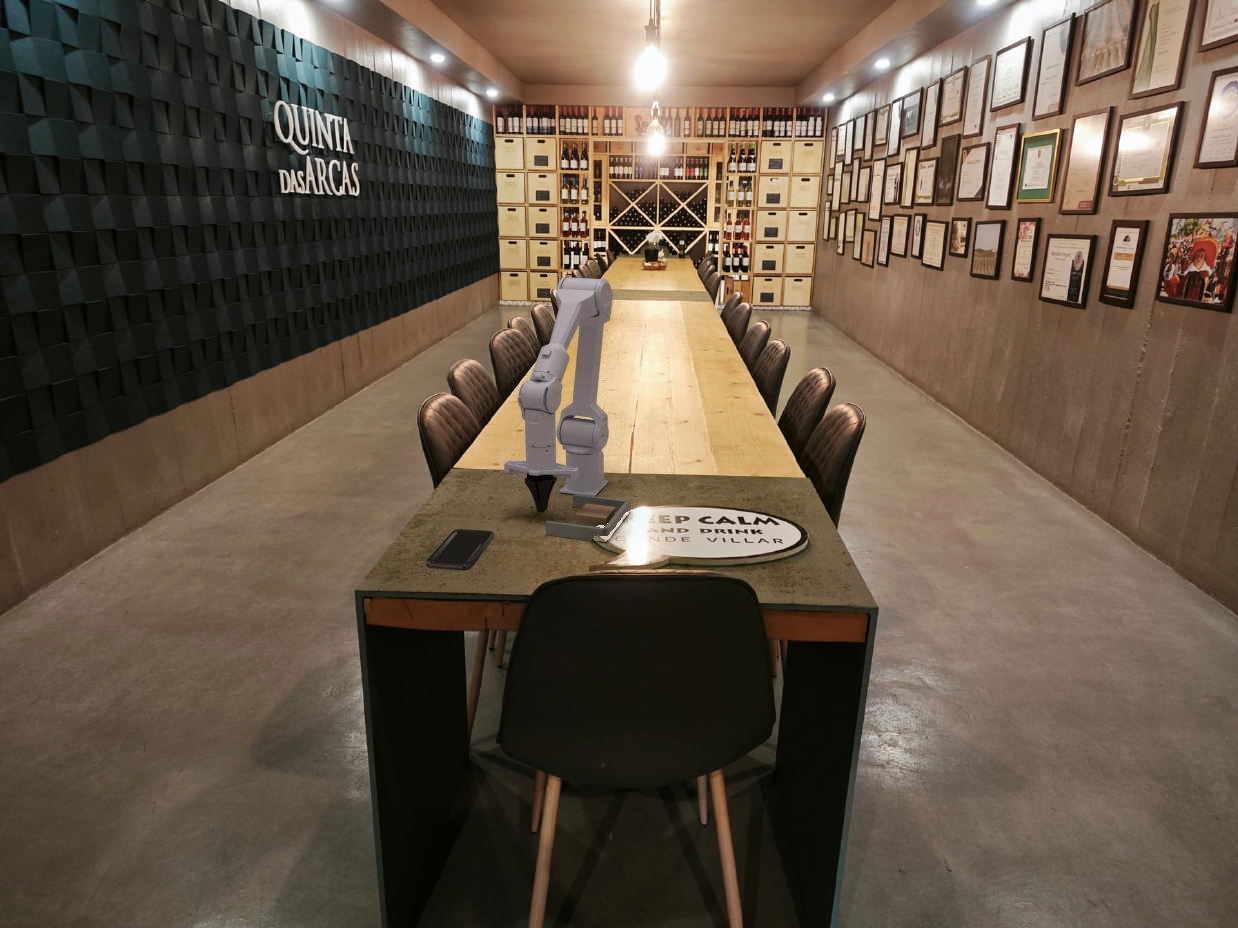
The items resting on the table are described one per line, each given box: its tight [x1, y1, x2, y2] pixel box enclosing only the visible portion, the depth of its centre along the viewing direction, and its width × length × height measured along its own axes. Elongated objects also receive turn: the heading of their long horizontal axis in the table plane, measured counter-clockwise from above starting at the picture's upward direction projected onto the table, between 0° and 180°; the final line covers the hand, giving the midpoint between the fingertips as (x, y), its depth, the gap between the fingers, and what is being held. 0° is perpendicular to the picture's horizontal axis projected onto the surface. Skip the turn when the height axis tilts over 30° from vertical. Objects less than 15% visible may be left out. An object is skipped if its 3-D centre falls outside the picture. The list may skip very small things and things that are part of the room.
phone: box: [425, 528, 495, 571], centre depth 138 cm, size 8×1×15 cm
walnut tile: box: [575, 504, 617, 527], centre depth 149 cm, size 6×6×3 cm
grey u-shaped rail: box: [545, 494, 632, 542], centre depth 149 cm, size 16×12×2 cm
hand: (542, 510), depth 152 cm, fingers closed
